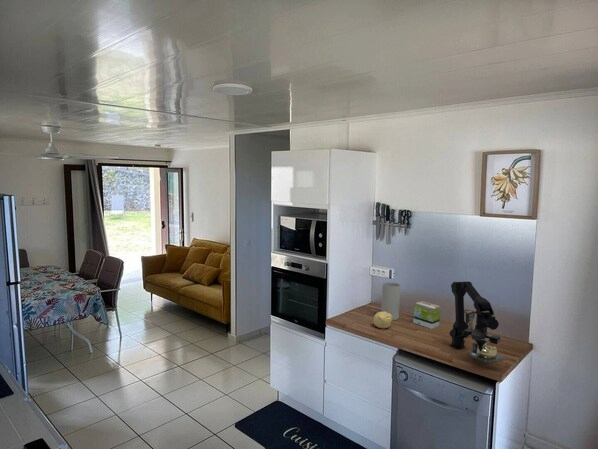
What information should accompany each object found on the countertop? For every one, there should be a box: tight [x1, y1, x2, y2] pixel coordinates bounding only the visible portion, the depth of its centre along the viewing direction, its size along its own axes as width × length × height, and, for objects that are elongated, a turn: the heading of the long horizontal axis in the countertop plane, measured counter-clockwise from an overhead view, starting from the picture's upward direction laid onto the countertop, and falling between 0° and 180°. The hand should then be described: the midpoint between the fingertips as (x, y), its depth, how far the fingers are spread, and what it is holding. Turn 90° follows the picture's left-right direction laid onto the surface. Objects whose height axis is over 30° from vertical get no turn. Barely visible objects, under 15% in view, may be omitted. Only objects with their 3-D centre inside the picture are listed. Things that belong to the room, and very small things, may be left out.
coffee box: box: [464, 308, 476, 338], centre depth 264 cm, size 9×6×16 cm
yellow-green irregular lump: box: [471, 342, 498, 358], centre depth 229 cm, size 17×11×8 cm, turn 121°
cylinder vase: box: [380, 281, 401, 322], centre depth 294 cm, size 12×12×25 cm
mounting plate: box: [466, 350, 506, 365], centre depth 231 cm, size 13×15×2 cm
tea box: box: [412, 300, 441, 330], centre depth 282 cm, size 15×10×15 cm, turn 42°
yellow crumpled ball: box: [373, 311, 393, 329], centre depth 275 cm, size 12×12×11 cm
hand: (480, 351), depth 223 cm, fingers closed
